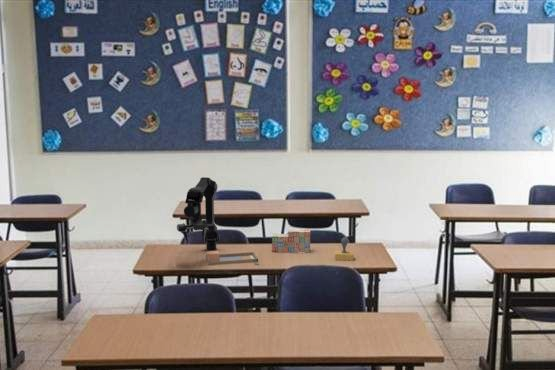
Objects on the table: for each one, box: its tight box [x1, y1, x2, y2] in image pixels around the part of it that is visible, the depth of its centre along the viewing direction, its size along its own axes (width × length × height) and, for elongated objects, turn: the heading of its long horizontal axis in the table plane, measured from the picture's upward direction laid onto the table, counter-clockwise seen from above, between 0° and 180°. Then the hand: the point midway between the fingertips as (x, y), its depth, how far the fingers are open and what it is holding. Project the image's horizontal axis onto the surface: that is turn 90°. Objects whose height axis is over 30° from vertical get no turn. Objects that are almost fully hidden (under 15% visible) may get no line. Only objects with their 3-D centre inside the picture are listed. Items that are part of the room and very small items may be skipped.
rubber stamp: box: [334, 237, 355, 261], centre depth 337 cm, size 10×6×12 cm, turn 85°
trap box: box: [205, 251, 259, 266], centre depth 332 cm, size 13×26×3 cm, turn 103°
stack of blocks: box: [271, 228, 311, 254], centre depth 352 cm, size 21×6×12 cm, turn 85°
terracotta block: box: [206, 250, 220, 263], centre depth 332 cm, size 5×6×4 cm
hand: (196, 243), depth 325 cm, fingers open, 9 cm apart
